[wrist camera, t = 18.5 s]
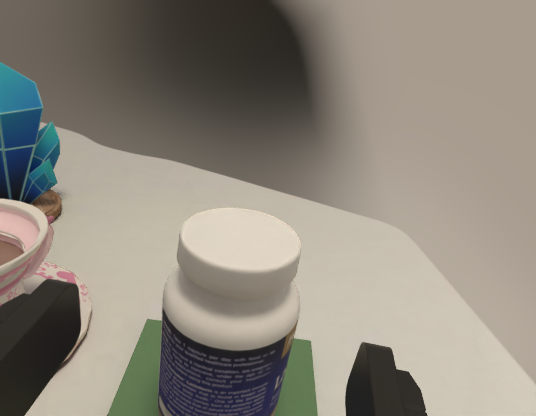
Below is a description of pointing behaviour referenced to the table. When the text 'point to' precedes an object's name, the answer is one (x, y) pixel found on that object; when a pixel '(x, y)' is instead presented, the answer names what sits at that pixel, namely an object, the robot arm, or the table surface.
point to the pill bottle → (228, 315)
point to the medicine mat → (147, 378)
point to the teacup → (31, 256)
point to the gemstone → (26, 145)
